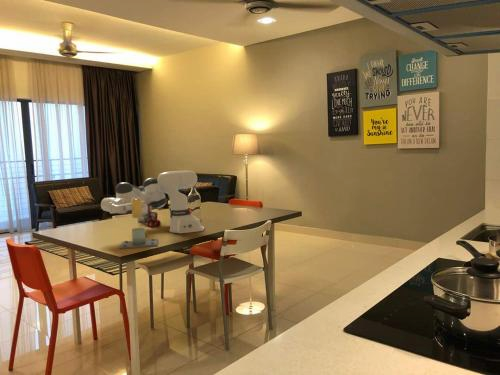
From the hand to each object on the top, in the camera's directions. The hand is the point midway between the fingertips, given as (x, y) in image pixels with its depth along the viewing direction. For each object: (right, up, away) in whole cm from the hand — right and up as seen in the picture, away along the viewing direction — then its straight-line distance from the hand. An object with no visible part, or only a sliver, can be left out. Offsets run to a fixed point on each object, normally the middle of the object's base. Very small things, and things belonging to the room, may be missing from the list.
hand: (137, 207), depth 229 cm
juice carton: (-16, -14, +76) cm, 79 cm away
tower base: (0, -21, +3) cm, 22 cm away
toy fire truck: (-4, -16, +55) cm, 57 cm away
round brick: (-1, -5, +1) cm, 6 cm away
